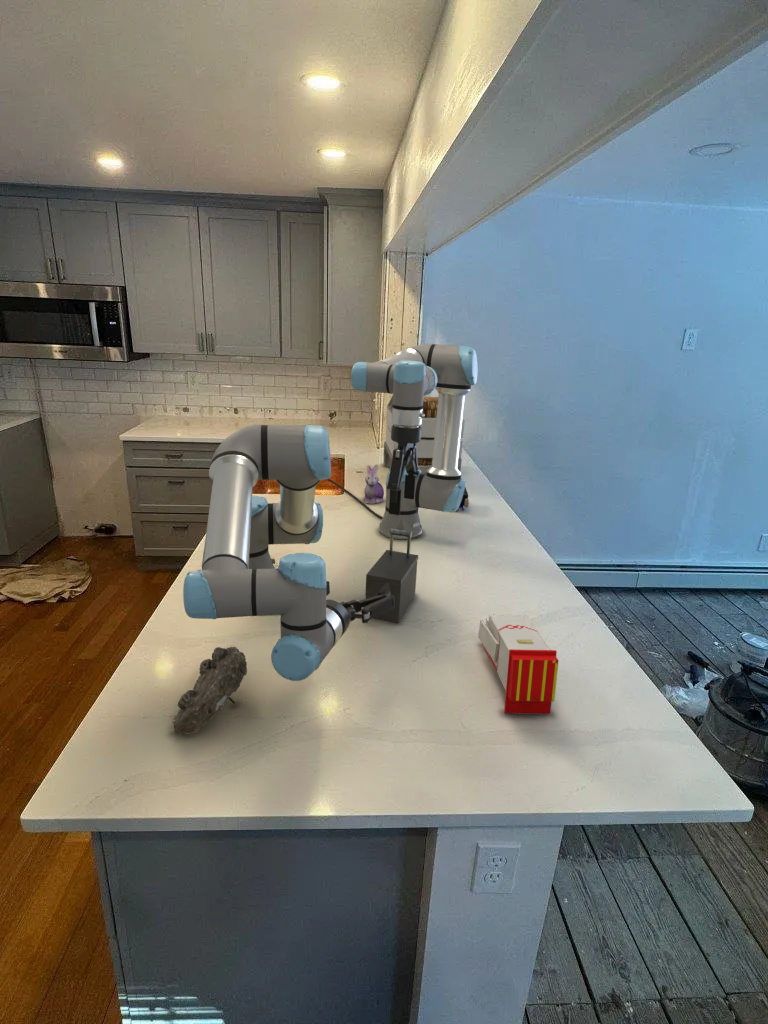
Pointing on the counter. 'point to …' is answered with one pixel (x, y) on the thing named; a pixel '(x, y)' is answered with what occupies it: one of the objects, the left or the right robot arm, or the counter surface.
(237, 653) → the fossil
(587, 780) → the counter surface
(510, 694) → the toy
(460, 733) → the counter surface
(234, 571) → the left robot arm
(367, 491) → the figurine
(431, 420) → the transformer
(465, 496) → the figurine character
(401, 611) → the chest
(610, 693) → the counter surface
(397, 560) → the lid
